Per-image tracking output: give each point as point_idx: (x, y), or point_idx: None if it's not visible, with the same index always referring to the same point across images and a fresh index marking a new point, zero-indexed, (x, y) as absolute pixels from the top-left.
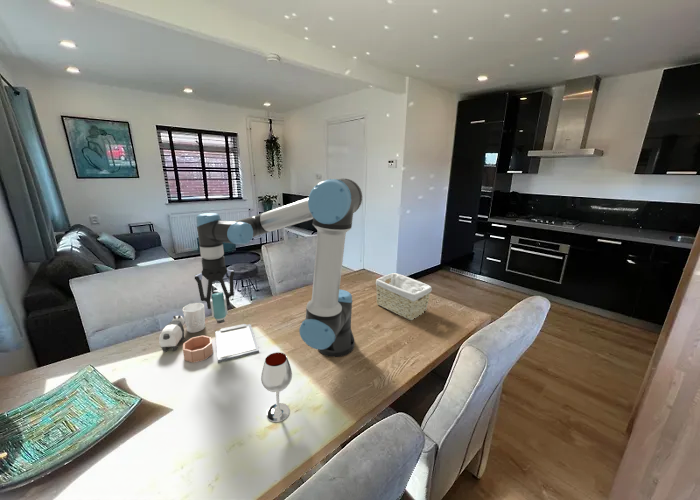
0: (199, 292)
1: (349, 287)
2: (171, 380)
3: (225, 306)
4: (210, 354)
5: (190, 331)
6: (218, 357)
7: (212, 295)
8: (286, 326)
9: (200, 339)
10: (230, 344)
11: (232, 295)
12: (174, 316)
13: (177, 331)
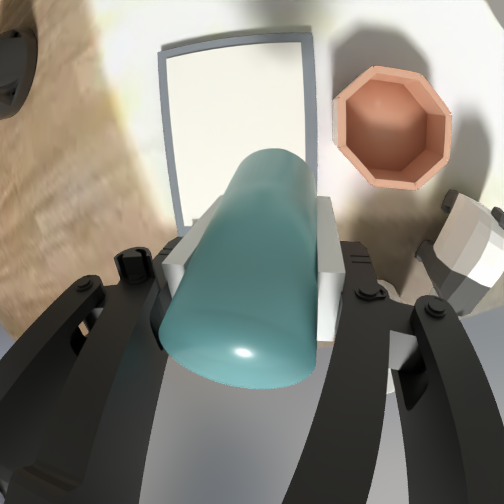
0: (495, 402)
1: (9, 300)
2: (452, 30)
3: (206, 224)
4: (342, 90)
5: (393, 287)
6: (310, 50)
7: (306, 340)
8: (80, 187)
9: (381, 176)
10: (259, 117)
11: (88, 276)
12: None
13: (465, 242)
